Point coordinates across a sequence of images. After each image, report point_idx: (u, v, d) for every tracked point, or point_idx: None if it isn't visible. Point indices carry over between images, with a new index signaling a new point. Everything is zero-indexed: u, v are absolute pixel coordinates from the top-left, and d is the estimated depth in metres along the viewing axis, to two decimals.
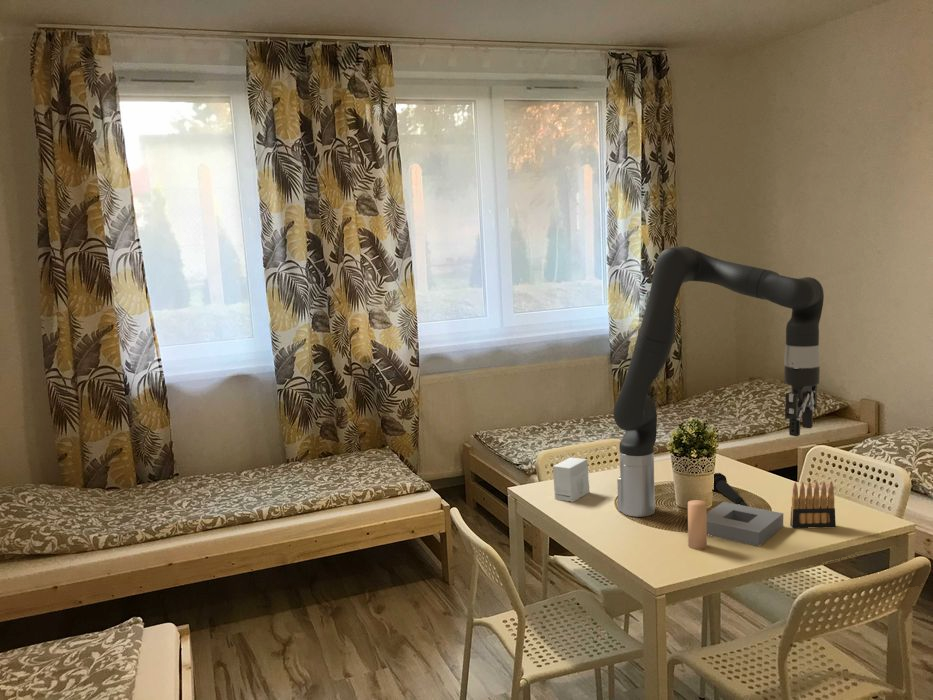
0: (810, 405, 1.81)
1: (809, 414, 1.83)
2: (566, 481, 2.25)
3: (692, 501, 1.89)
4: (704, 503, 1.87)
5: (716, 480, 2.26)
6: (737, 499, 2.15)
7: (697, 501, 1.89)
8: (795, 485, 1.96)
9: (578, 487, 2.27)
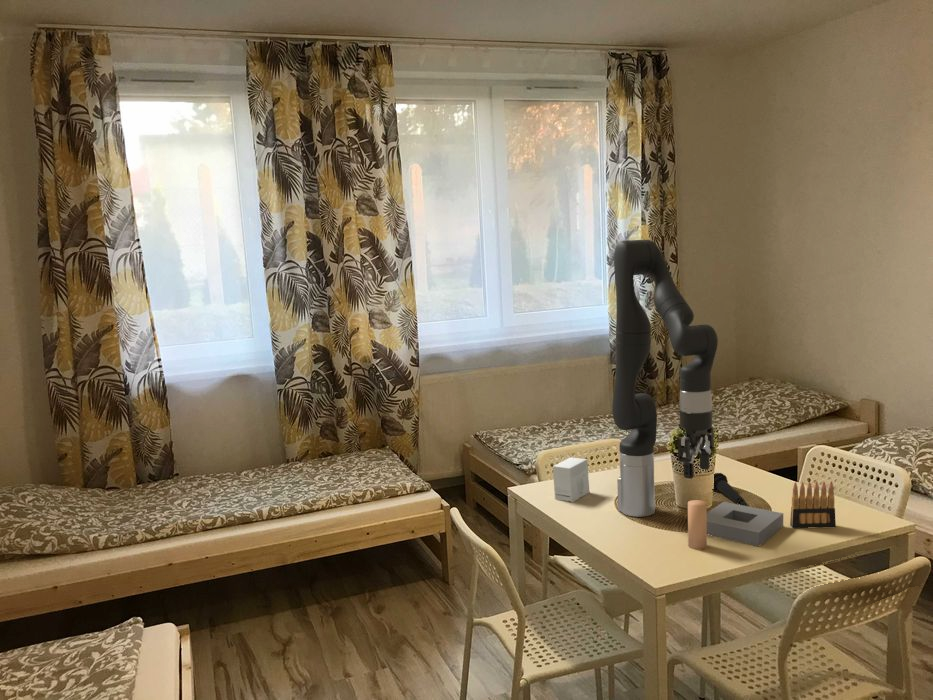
0: (706, 447, 1.87)
1: (706, 456, 1.88)
2: (566, 481, 2.25)
3: (692, 501, 1.88)
4: (704, 503, 1.87)
5: (716, 479, 2.26)
6: (737, 499, 2.15)
7: (697, 501, 1.89)
8: (795, 485, 1.96)
9: (578, 487, 2.27)
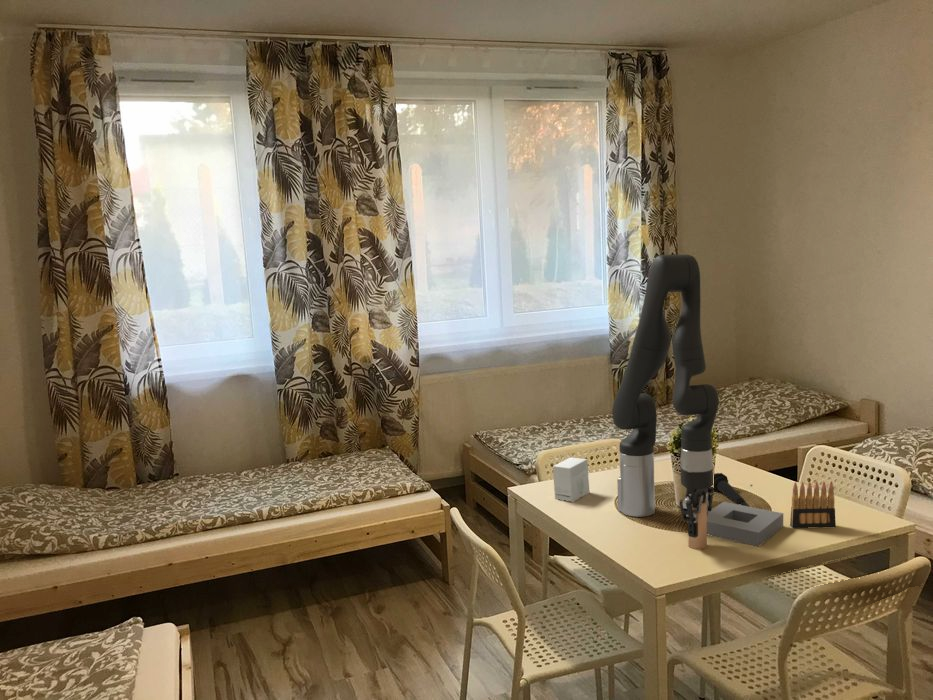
0: None
1: None
2: (566, 481, 2.25)
3: None
4: (704, 503, 1.87)
5: (717, 480, 2.26)
6: (738, 499, 2.15)
7: None
8: (795, 485, 1.96)
9: (578, 487, 2.27)
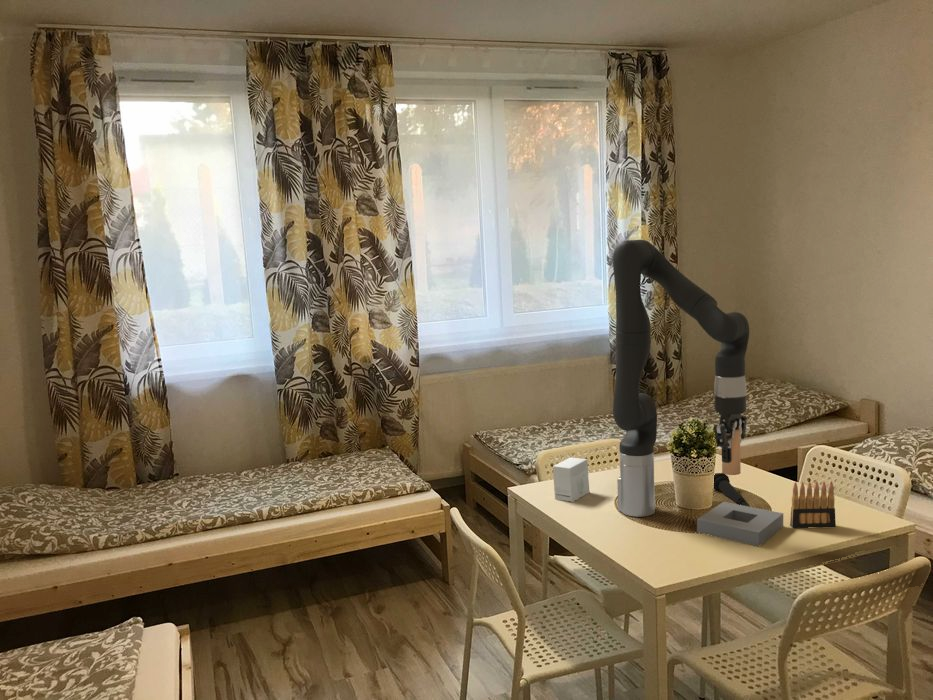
0: None
1: None
2: (566, 481, 2.25)
3: None
4: (738, 430, 1.91)
5: (718, 480, 2.26)
6: (738, 499, 2.15)
7: None
8: (795, 485, 1.96)
9: (578, 487, 2.27)
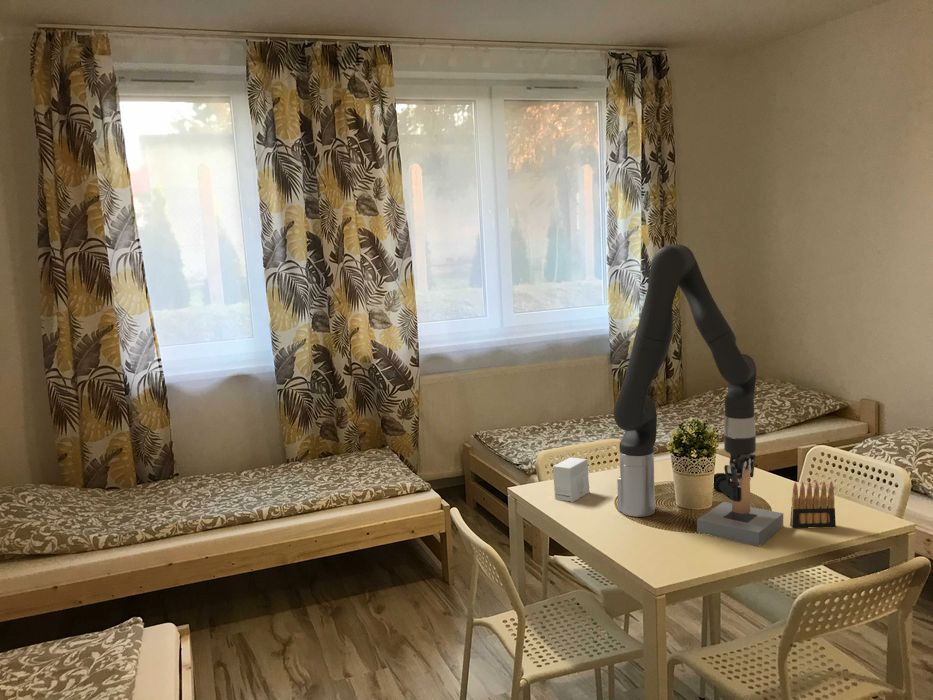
0: None
1: None
2: (566, 481, 2.25)
3: None
4: (747, 469, 1.95)
5: (719, 480, 2.26)
6: None
7: None
8: (795, 485, 1.96)
9: (578, 487, 2.27)
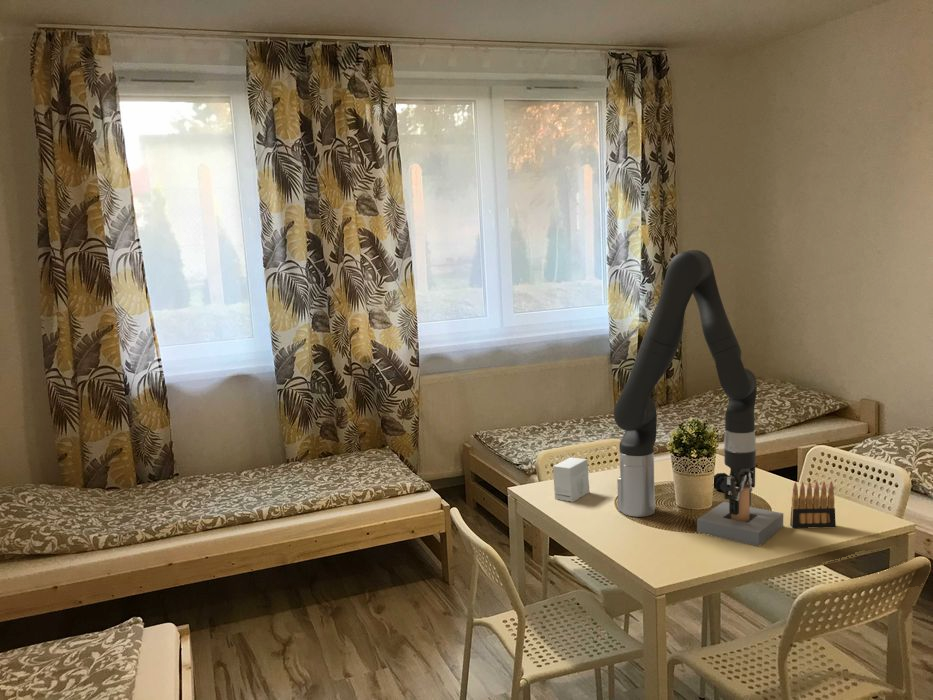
0: (748, 485, 1.97)
1: None
2: (566, 481, 2.25)
3: None
4: (747, 488, 1.96)
5: (720, 480, 2.26)
6: None
7: None
8: (795, 485, 1.96)
9: (578, 487, 2.27)
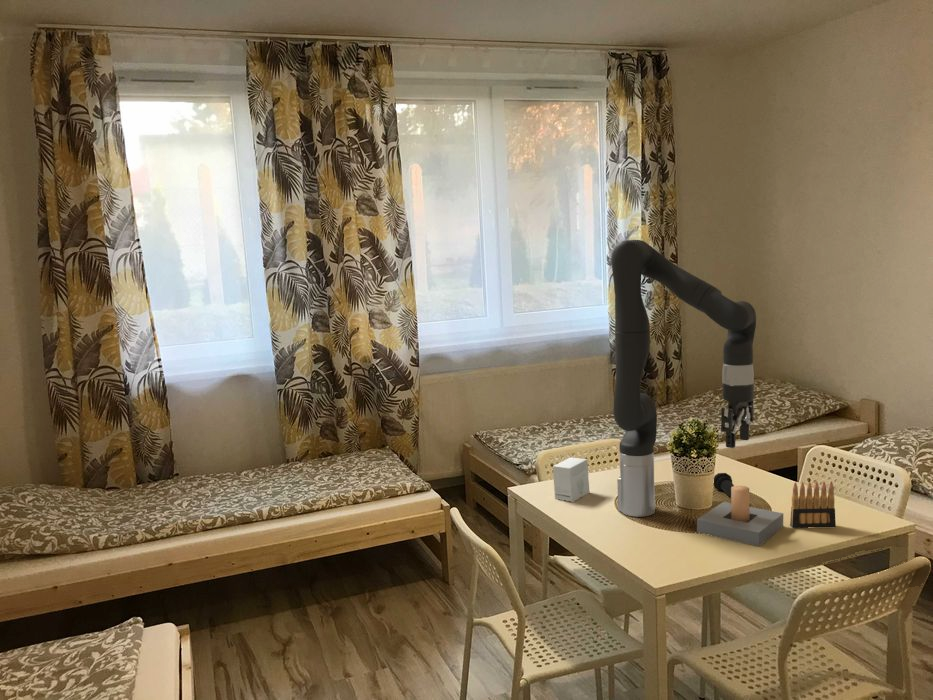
0: (746, 419, 1.96)
1: (746, 427, 1.97)
2: (566, 481, 2.25)
3: (735, 486, 1.97)
4: (747, 488, 1.96)
5: (720, 479, 2.26)
6: None
7: (739, 486, 1.98)
8: (795, 485, 1.96)
9: (578, 487, 2.27)
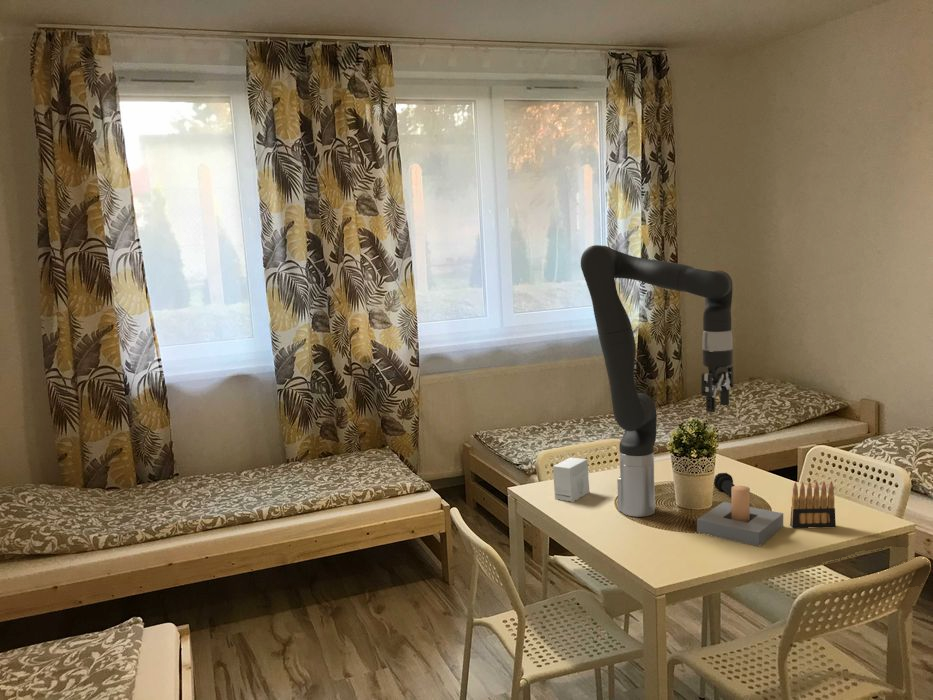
0: (726, 384, 2.03)
1: (726, 393, 2.05)
2: (566, 481, 2.25)
3: (735, 486, 1.97)
4: (747, 488, 1.96)
5: (721, 479, 2.26)
6: None
7: (740, 486, 1.98)
8: (795, 485, 1.96)
9: (578, 487, 2.27)
